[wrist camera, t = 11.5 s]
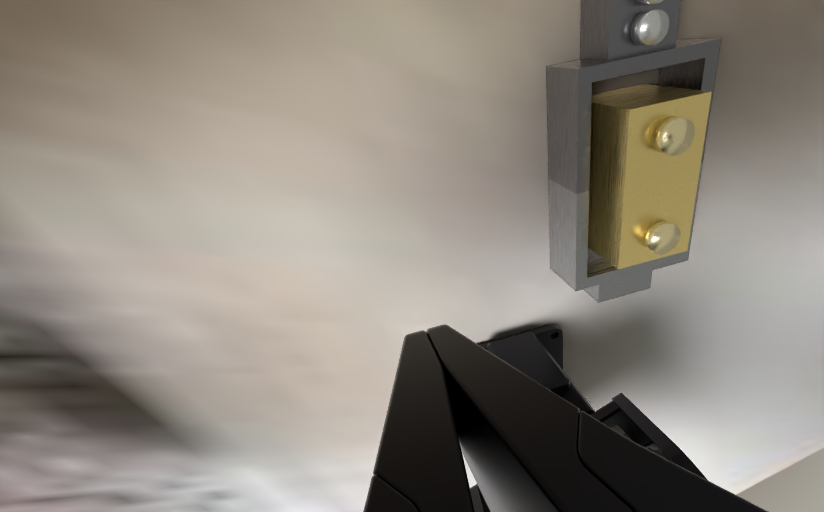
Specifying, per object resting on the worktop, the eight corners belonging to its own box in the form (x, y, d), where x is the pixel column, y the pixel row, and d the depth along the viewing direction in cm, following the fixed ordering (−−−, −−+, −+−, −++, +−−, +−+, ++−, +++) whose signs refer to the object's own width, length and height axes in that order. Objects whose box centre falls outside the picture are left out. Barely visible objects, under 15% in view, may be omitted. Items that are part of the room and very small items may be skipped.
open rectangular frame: (650, 263, 25) (685, 286, 23) (550, 291, 24) (576, 316, 22) (682, -41, 18) (737, -53, 16) (544, -15, 17) (580, -23, 15)
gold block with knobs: (630, 220, 23) (697, 256, 19) (570, 235, 23) (627, 275, 19) (641, 83, 20) (724, 93, 16) (572, 98, 20) (640, 111, 16)
